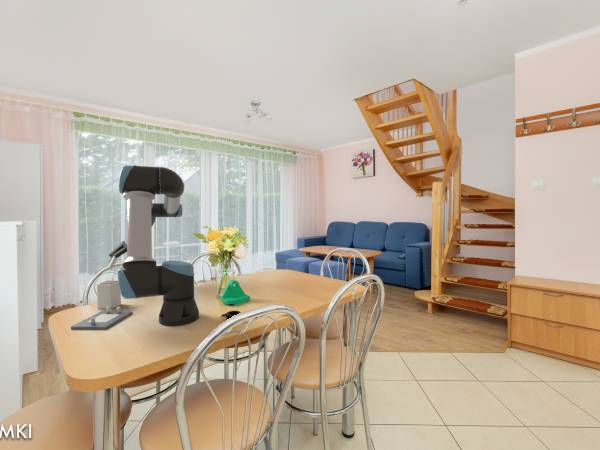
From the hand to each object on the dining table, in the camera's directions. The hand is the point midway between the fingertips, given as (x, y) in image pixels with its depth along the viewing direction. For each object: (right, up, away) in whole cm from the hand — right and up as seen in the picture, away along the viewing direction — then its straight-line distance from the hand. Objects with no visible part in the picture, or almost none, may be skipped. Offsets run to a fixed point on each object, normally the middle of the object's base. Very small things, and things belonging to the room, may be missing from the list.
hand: (123, 269), depth 146 cm
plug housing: (0, -16, -10) cm, 19 cm away
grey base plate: (+8, -17, -27) cm, 33 cm away
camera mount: (+56, -16, -3) cm, 58 cm away
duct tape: (+59, -17, -25) cm, 67 cm away
